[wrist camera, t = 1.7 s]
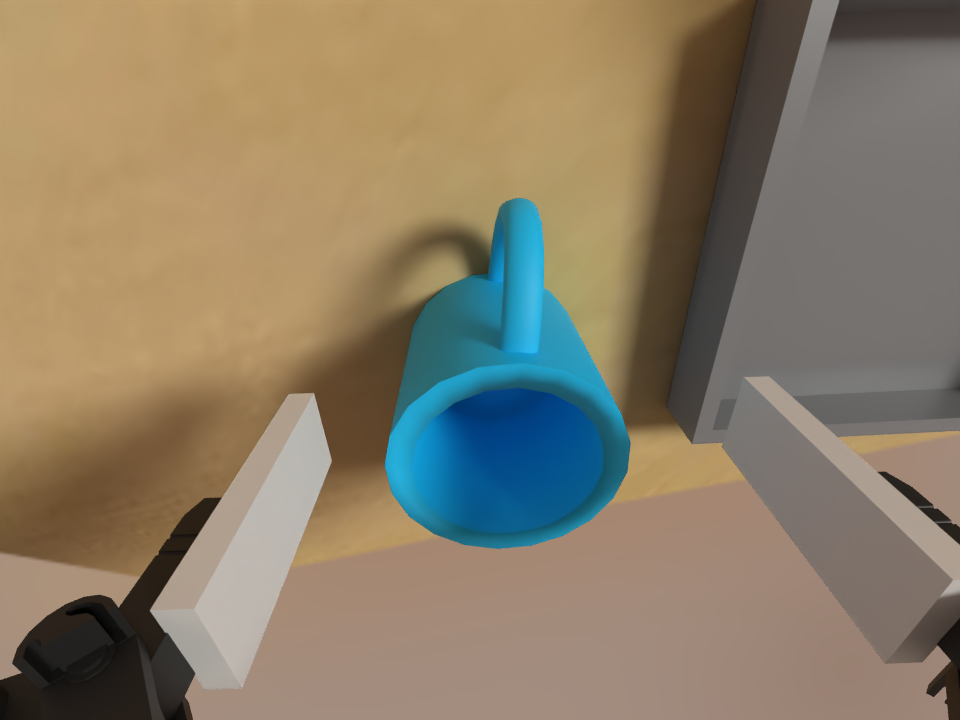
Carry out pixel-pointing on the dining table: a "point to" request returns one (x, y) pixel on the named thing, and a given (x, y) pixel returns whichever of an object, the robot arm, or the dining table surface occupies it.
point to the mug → (503, 406)
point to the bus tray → (835, 224)
